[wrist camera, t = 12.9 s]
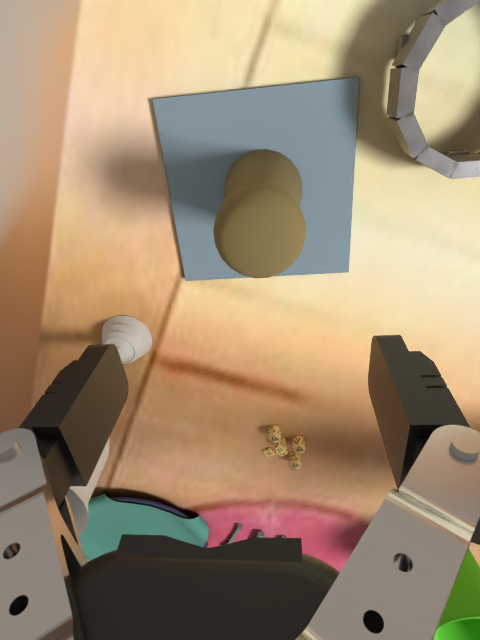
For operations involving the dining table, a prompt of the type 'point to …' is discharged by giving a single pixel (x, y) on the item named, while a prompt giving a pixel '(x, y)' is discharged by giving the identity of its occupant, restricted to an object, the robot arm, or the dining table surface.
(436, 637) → the cup
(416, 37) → the grey segmented ring
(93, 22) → the dining table surface
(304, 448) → the dice set
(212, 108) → the rubber mat
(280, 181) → the cork
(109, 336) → the chalice
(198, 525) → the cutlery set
